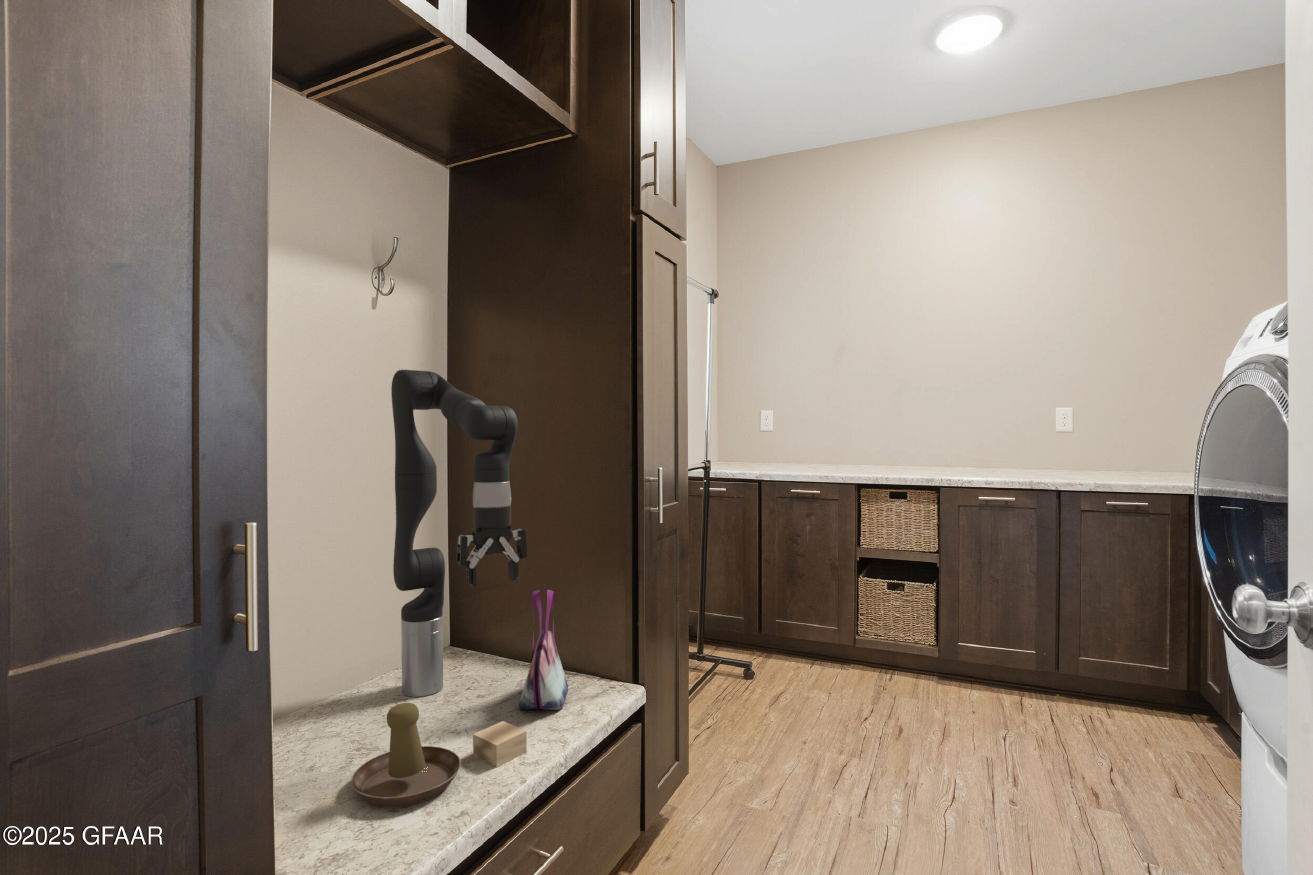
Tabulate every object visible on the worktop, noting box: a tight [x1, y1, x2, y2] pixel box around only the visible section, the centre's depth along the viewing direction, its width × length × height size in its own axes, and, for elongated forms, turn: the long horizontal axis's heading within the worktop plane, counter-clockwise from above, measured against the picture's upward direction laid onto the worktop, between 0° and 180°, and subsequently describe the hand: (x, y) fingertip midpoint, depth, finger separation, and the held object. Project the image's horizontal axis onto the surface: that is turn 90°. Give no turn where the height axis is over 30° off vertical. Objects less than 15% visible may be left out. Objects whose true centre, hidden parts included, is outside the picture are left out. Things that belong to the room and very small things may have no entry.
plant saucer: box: [350, 745, 462, 809], centre depth 113 cm, size 18×18×3 cm
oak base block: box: [472, 720, 528, 768], centre depth 123 cm, size 7×7×4 cm
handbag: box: [518, 589, 569, 711], centre depth 147 cm, size 21×10×25 cm, turn 1°
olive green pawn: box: [386, 702, 425, 778], centre depth 112 cm, size 6×6×11 cm
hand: (492, 583), depth 132 cm, fingers open, 8 cm apart
